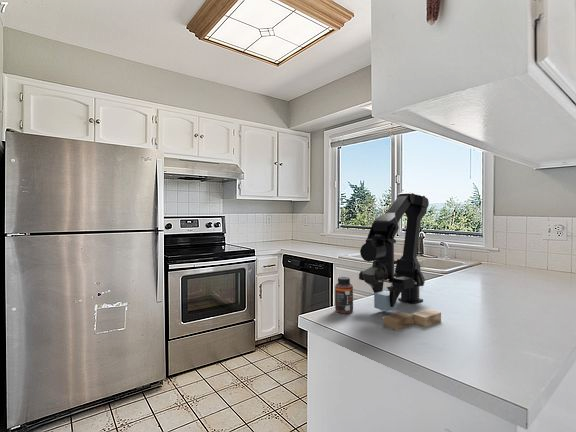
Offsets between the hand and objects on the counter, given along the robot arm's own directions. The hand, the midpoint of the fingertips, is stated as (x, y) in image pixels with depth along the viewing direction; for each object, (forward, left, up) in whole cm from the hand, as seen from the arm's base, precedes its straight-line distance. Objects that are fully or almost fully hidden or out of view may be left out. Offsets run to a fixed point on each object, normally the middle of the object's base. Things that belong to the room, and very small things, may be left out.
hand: (385, 304), depth 109 cm
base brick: (+6, +10, -3) cm, 12 cm away
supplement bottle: (+10, -9, -3) cm, 14 cm away
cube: (0, 0, -1) cm, 1 cm away
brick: (-3, +13, -3) cm, 14 cm away
